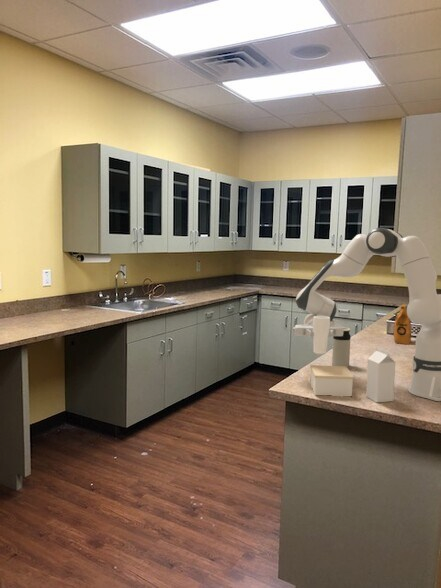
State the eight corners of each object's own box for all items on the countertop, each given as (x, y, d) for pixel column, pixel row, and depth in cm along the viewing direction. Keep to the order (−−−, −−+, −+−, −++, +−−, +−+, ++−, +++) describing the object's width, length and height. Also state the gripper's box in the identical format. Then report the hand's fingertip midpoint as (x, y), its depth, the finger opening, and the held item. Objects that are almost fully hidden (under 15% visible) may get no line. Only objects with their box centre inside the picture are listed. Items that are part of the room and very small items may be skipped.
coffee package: (391, 343, 271) (393, 306, 268) (393, 339, 282) (395, 303, 280) (409, 345, 267) (412, 307, 264) (411, 341, 278) (413, 304, 275)
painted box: (345, 385, 192) (346, 366, 191) (352, 397, 178) (353, 376, 177) (309, 383, 193) (310, 365, 192) (314, 395, 179) (315, 375, 178)
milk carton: (376, 403, 172) (379, 352, 169) (365, 396, 178) (368, 348, 176) (393, 401, 174) (396, 351, 171) (382, 395, 180) (384, 347, 178)
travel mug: (349, 368, 217) (351, 330, 215) (332, 367, 219) (333, 329, 217) (348, 363, 225) (350, 327, 223) (331, 362, 227) (333, 326, 224)
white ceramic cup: (325, 351, 195) (327, 315, 193) (330, 355, 188) (332, 318, 186) (309, 350, 194) (311, 315, 193) (313, 354, 188) (315, 318, 186)
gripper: (292, 320, 203) (295, 326, 190) (339, 321, 202) (346, 326, 188) (292, 334, 204) (294, 341, 190) (339, 335, 203) (345, 342, 189)
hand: (320, 334), depth 189 cm, fingers closed on white ceramic cup, 6 cm apart
